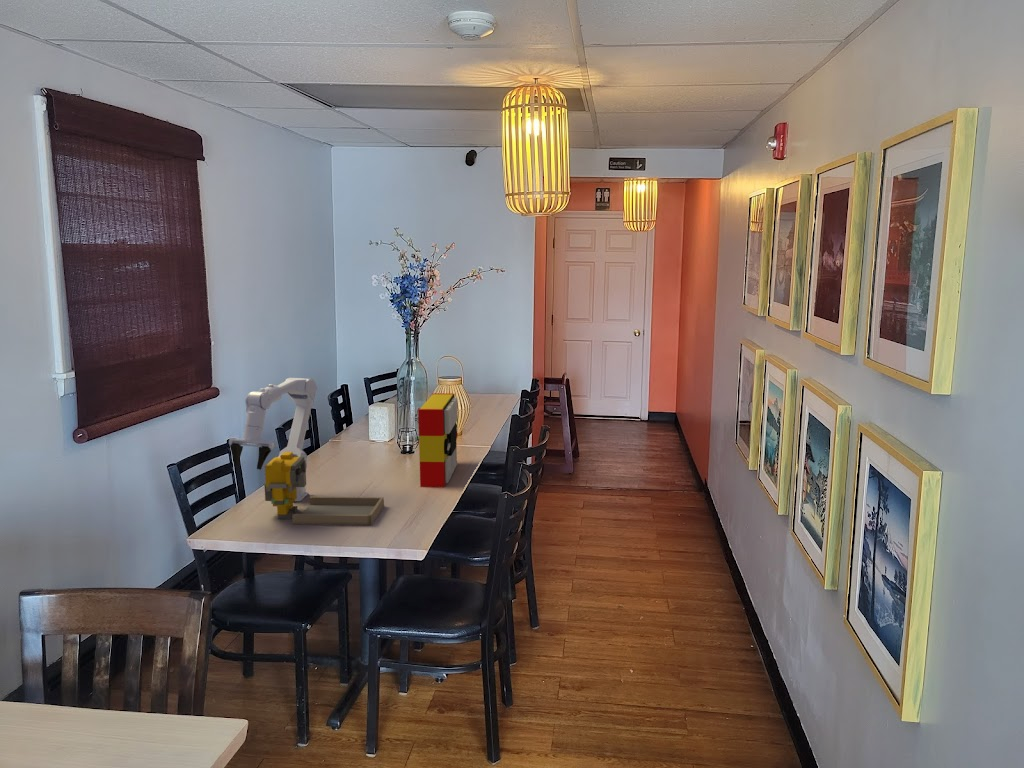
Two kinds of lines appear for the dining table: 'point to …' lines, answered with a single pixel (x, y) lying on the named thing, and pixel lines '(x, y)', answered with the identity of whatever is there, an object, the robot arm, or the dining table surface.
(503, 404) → the dining table surface
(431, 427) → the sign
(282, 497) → the toy
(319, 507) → the tray
